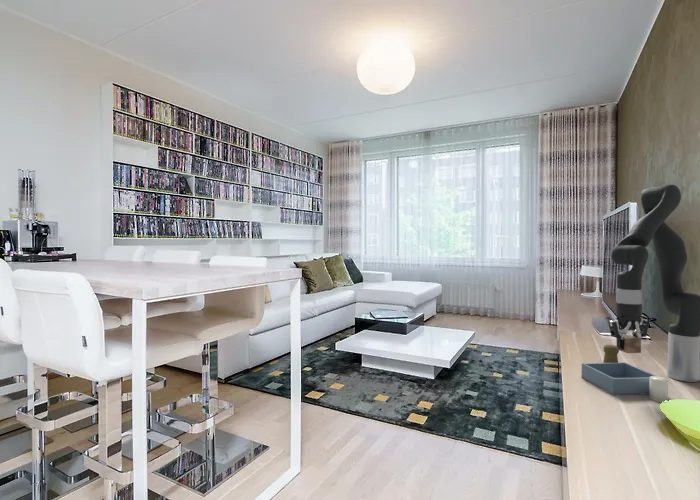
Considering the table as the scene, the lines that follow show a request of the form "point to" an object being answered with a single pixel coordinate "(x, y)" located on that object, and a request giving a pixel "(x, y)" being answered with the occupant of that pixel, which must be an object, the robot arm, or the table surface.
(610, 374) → the tote
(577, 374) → the table surface
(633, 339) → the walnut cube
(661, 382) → the ceramic canister
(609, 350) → the cork
